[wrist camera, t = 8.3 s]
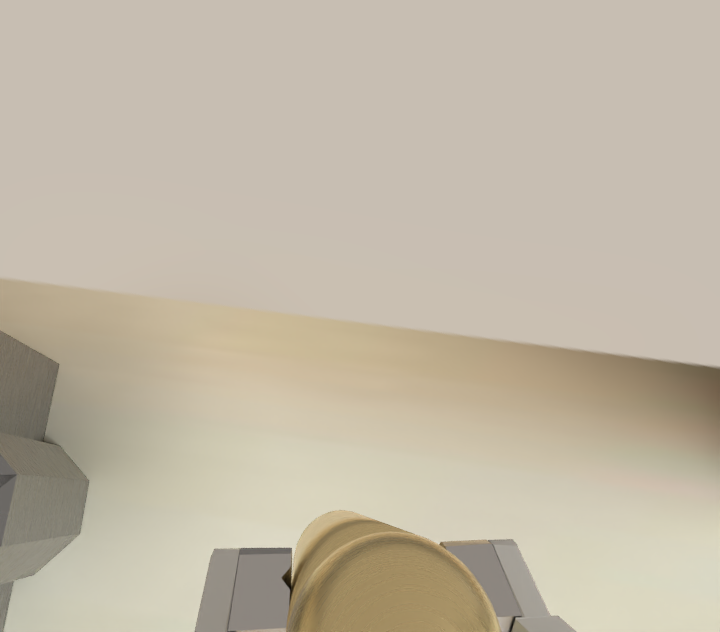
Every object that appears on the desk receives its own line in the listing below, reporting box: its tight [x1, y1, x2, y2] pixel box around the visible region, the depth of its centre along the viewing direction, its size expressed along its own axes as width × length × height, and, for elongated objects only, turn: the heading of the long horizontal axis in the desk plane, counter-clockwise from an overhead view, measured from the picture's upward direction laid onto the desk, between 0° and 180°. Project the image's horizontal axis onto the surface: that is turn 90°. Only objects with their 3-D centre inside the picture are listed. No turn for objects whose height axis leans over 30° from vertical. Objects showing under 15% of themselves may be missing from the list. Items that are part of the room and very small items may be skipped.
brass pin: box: [286, 510, 501, 632], centre depth 10 cm, size 3×3×11 cm
